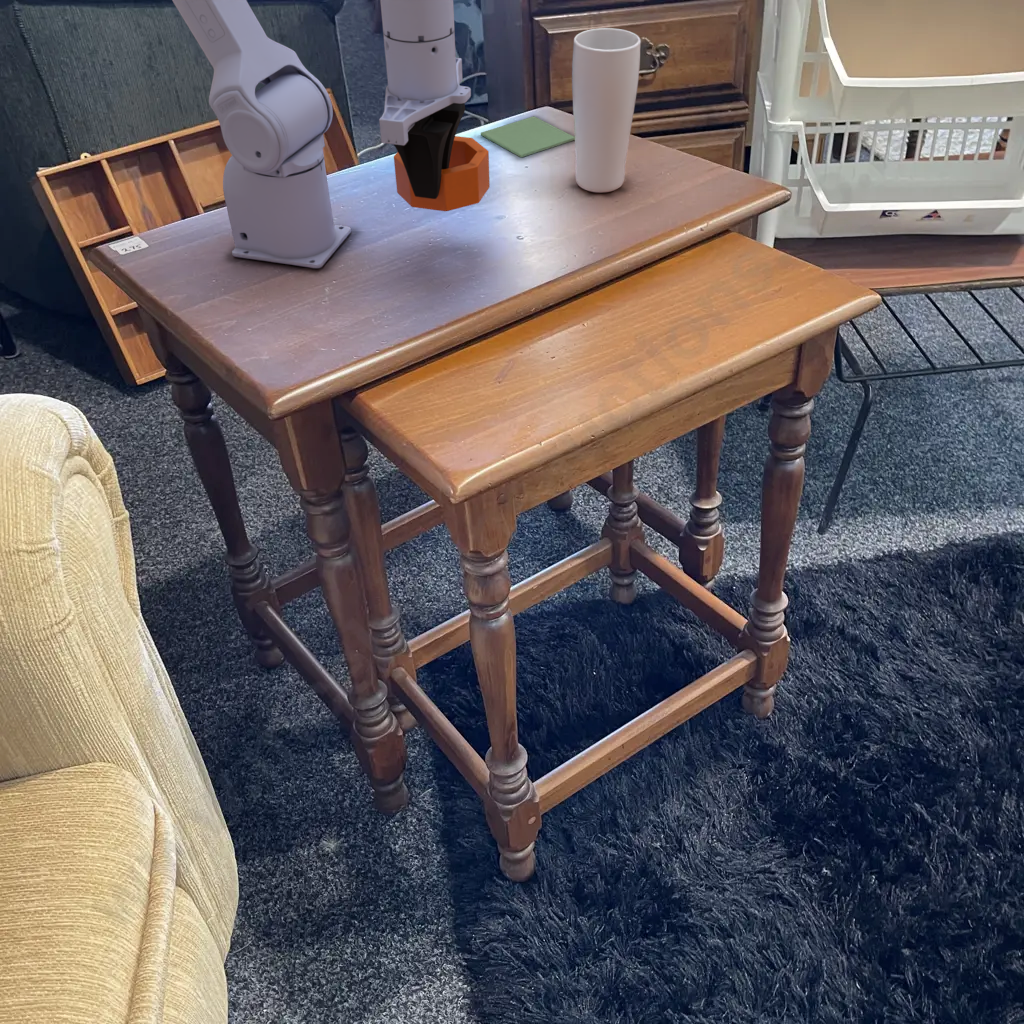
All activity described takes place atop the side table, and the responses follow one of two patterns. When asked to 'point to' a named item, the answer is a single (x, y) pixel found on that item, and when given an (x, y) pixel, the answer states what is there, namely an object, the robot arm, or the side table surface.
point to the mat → (527, 136)
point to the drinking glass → (603, 104)
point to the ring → (452, 178)
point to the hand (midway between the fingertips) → (429, 191)
